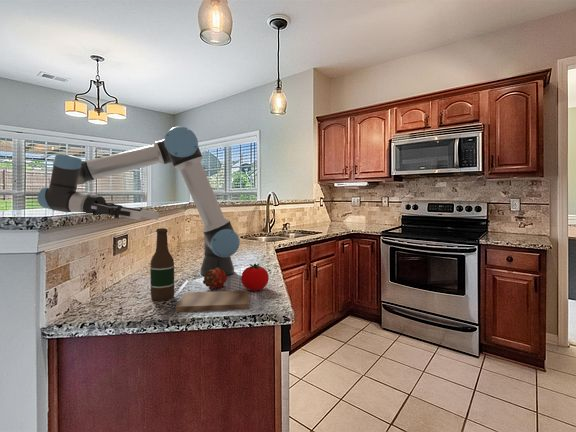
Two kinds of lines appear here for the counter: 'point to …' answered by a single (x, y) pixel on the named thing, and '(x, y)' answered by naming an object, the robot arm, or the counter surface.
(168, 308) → the counter surface
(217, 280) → the dragon fruit
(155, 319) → the counter surface
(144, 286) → the counter surface
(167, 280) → the beer bottle
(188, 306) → the wooden cutting board
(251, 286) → the tomato
